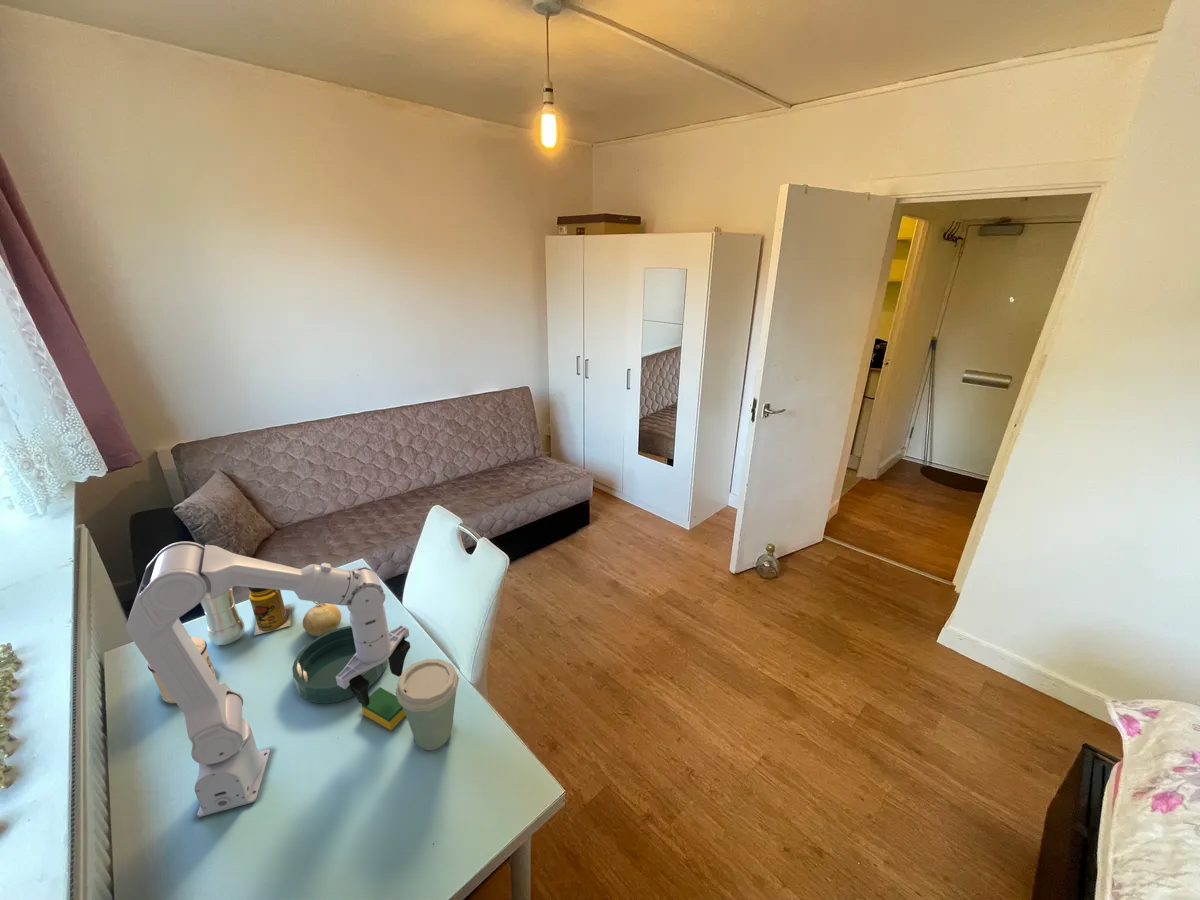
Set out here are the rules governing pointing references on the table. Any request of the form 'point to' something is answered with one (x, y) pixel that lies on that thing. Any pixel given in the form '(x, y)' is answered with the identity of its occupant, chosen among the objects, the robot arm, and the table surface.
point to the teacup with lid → (203, 651)
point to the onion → (321, 619)
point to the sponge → (384, 708)
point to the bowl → (328, 667)
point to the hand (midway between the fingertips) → (380, 688)
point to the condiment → (269, 610)
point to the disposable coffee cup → (429, 700)
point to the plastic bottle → (222, 618)
